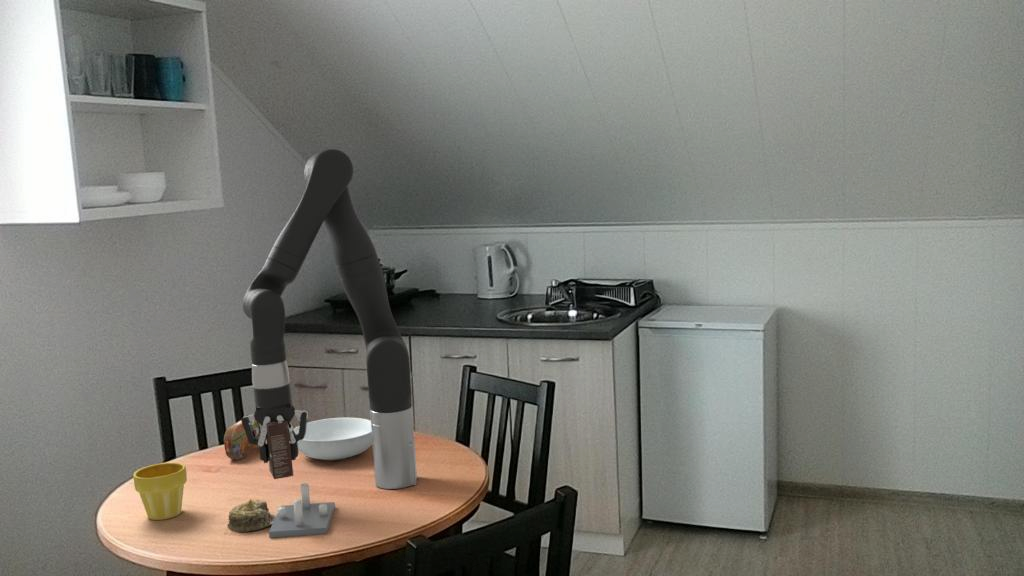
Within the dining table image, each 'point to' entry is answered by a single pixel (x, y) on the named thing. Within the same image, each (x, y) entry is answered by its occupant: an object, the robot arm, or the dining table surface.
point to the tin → (239, 440)
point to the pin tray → (307, 520)
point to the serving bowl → (335, 438)
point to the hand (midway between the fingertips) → (279, 460)
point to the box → (279, 449)
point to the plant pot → (161, 489)
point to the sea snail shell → (250, 516)
